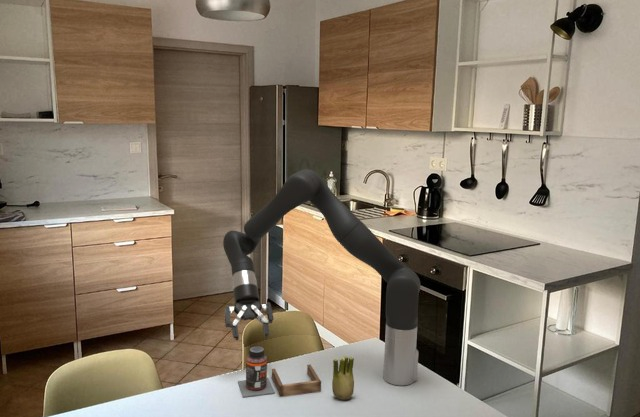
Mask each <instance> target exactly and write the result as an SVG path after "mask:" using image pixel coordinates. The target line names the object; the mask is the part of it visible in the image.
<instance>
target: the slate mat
mask: <svg viewBox="0 0 640 417" xmlns="http://www.w3.org/2000/svg"><path fill="white" fill-rule="evenodd" d="M237 383H238V387H239V390H240V393H241V396H242V398H243V399H244V398H246V399H247V398H253V397H260V396H268V395H274V394H275V393H276V392H275V390H274V387H273V385H272V383H271V381H270V378H269V377H267V384H266V387H265V388H263V389H261V390H251V389H248V388H247V387H246V379H244V380H237ZM275 395H276V394H275Z"/></svg>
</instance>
